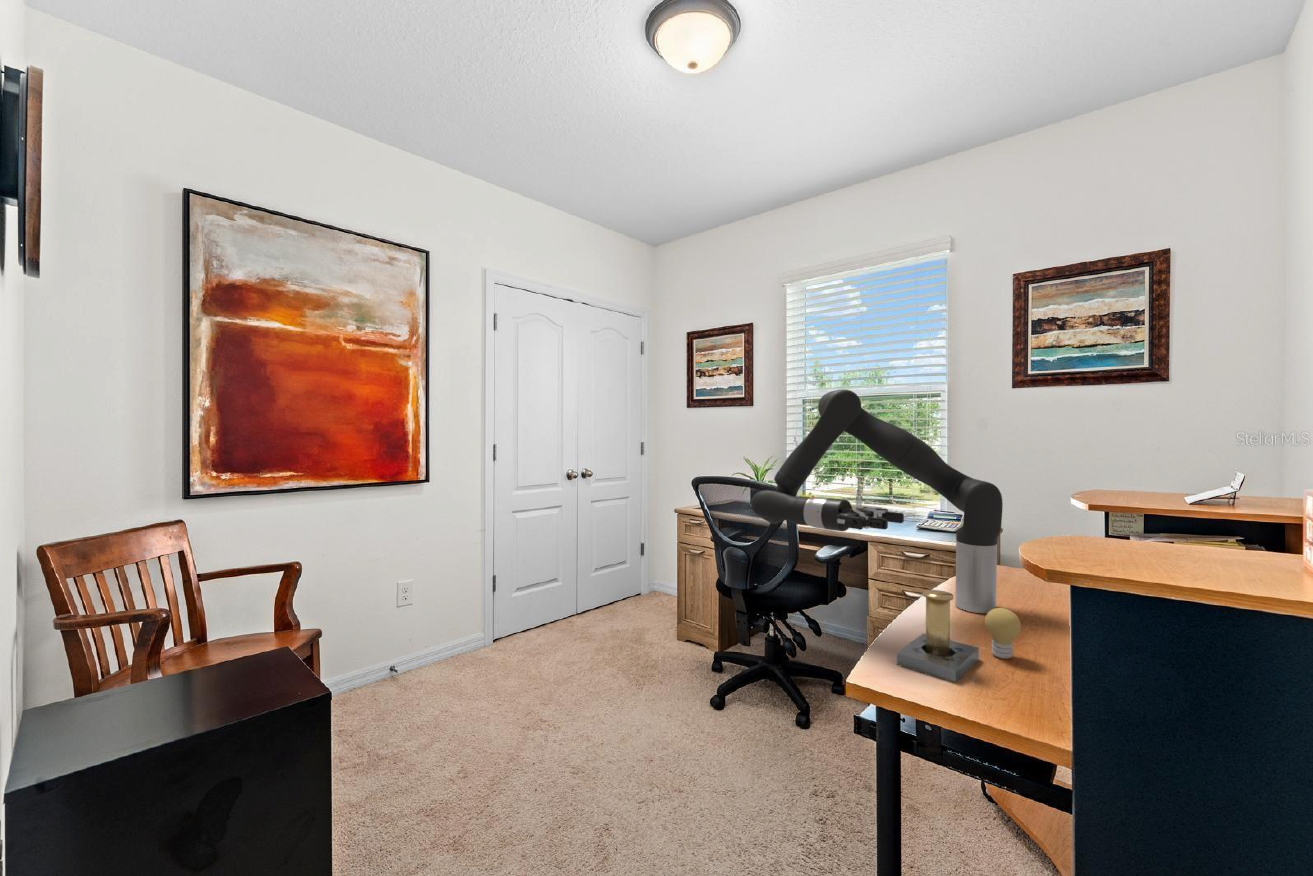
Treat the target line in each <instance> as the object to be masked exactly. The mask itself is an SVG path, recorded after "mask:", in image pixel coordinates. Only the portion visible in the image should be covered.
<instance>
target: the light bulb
mask: <svg viewBox="0 0 1313 876" xmlns="http://www.w3.org/2000/svg"><path fill="white" fill-rule="evenodd" d="M984 625H985V628H986V631H987V632H988V633H989V635H990V636H991V637H992V639H991V653H992V655H994V657H997V658H999V659H1003V660H1008V659H1011V658H1013V656H1014V653H1013V651H1014V649H1013V647H1014V643H1013V641H1014V640H1015V639H1016V638H1017V637H1018V636H1019V634H1020V632H1021V629H1022V623H1021V621H1020V618H1019V617H1018V615H1017V614H1016V613H1014V612H1013V611H1012V610H1009V609H1008V608H1004V607H996V608H995V609H992V610H990V611H989V612H988V613H986V615H985V618H984Z"/></svg>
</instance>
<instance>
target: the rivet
mask: <svg viewBox="0 0 1313 876" xmlns="http://www.w3.org/2000/svg"><path fill="white" fill-rule="evenodd" d="M922 596H923V597H925V634H926V653H929V654H932V655H936V656H939V657H944V656H950V640H951V628H950V627H951V601H953V600H954V598H955V597H954V594H952V593H951V592H948V591H945V590H940V589H939V590H938V589H925V590H923V591H922Z"/></svg>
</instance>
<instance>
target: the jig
mask: <svg viewBox="0 0 1313 876" xmlns="http://www.w3.org/2000/svg"><path fill="white" fill-rule="evenodd" d="M979 650H980V648H979V647H978V646H974V645H970V644H966V643H964V642H963V643H962V642H958V641H955V640H951V639H950V656H944V657H939V656H936V655H932V654H929V653H926V633H924V632H923V633H922V634H920V635H919V636H917V637H916V638H914V639H913V640H912V641H910V642H909V643H908V644H907V645H905V646H903V648H901V649H900V650H899V651H897V652H896V665H897V666H899V665H901V666H900V667H902V666H904V667H903V668H905V667H906V669H909V668H911V669H910V670H912V669H915V670H917V671H916V672H918V671H920V672H919V673H921V674H925V673H927V674H926V675H928V674H929V675H928V676H931V675H932V676H931V677H934V678H938V679H941V678H942V680H945V681H948V682H951V683H954V682H955V683H954V684H956V683H957V682H958V681H959V680H960V679H961V678H963V676H964V675H965V674H966V673H967V672H968V671H969V670H970V669H971V668H972V667H973V666H975V664H977V662H978V661H979V660H978V659H980V655H979V654H980V651H979ZM915 670H914V671H915Z"/></svg>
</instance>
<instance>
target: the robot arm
mask: <svg viewBox="0 0 1313 876" xmlns="http://www.w3.org/2000/svg"><path fill="white" fill-rule="evenodd" d="M817 408H818V413H819V418H818V420H817V422H816V423H815V425H814V426H813V428H812V429H811V431H810V432H809V433H808V434H807V435H806V437H805V438H804V439H803V440H802V441H801V442H800V443H799V444H798V445H797V446H796V447H795V448H794V450H792V451H791V452H790V454H789V455H788V457H787V458H786V459H785V460H784V462H783V464H781V467H780V468H779V470H778V471H777V472H776V474H775V476H774V482H775V484H776V486H777V487H776V489H775V490H769V489H767V490H760V491H758V492H756V493H755V494H754V495H753V497H752V498H751V500H750V507H751V510H752V512H753V513H754V514H755V515H756V516H758V517H759V518H761V519H762V520H765V521H766V522H767V523H769V524H773V525H777V524H779V523H781V522H783V521H784V520H785V521H786V522H788V523H791V524H795V525H800V526H807V527H811V528H816V529H822V530H830V531H837V532H847V530H849V529H853V530H854V529H855V530H859V531H860V530H863V529H878V530H887V529H888V528H889V525H888V524H889V523H894V524H895V523H896V524H902V523H903V524H904V521H905V518H904V517H905V515H904V513H903V512H895V511H889V509H888V508H878V507H867V506H863V507H860V506H859V507H857V506H856V507H855V508H853V507H852V504H851V502H850V501H849V500H847V499H844V498H843V499H842V498H833V497H822V496H820V497H819V496H818V497H817V496H816V497H809V496H799V495H798V492H799V490H800V489H801V487H802V486H803V485H804V484H805V482H806V481H807V479H808V477H809V476H811V474H812V472H813V470H814V469H815V467H816V466H817V464H818V463H819V462H820V461H821V459H822V458H823V456H824V455H825V454H826V452H827V451H828V450H829V448H830V447H831V446H832V445H833V444H834V442H835V441H836V440H837V439H838V438H839V437H840V436H841V435H842V434H843V433H844V432H845V433H846V434H849V435H850V436H853V437H854V438H855V439H856V440H858V441H860V442H861V443H863V444H864V445H865V446H866V447H868V448H869V449H870V450H871V451H873V452H874V453H875V454H876V455H878V456H880V457H881V458H882V459H883V460H885V461H886V462H888V464H891V465H892V466H894V467H895V468H897V469H899V470H900V471H901V472H903V473H905V474H907V475H908V476H910V477H912V478H913V479H915V480H917V481H918V482H920V483H923V484H925V485H927V486H928V487H930V488H931V489H933V490H934V491H936V492H937V493H938V494H940V495H941V496H942V497H943V498H944V499H946V500H947V501H948V502H950V503H951V505H952V506H954V507H956V509H957V510H959V511H960V512H962V513H963V524H962V526H961V527H960V528H958V529H957V530H956V532H955V597H954V598H955V603H954V604H955V605H954V606H956V607H957V608H958V609H960V610H962V609H963V610H962V611H965V610H966V612H969V613H975V614H976V613H977V614H987V613H988V612H989V611H990V610H992V609H995V608H997V582H998V581H997V579H998V573H997V572H998V571H997V570H998V538H999V536H1000V534H1001V531H1002V520H1003V519H1002V518H1003V504H1004V503H1003V496H1002V493H1001V490H1000V489H999V488H998V486H996V485H995V484H993V483H991V482H988V481H985V480H980V479H976V478H973V477H970V476H968V475H967V474H964V473H962V472H961V471H958V470H957V469H956V468H954V467H952V466H950V465H949V464H948V463H947V462H945V461H944V460H943V459H942V457H940V455H939V454H938V452H936V451H935V450H934V449H933V448H932V447H931V446H930V445H929V444H927V443H926V442H924V441H923V440H921V439H920V438H919V437H918V436H915V435H913V434H912V432H911V433H910V432H909V431H907V430H905V429H903V428H901V427H899V426H897V425H895V424H892V423H890V422H888V421H885V420H882V419H880V418H878V417H876V416H875V415H873V414H871V413H870V412H868V411H867V410H865V409H864V408H862V401H861V399H860V396H858V395H857V393H855V391H852V390H849V389H844V388H843V389H841V388H840V389H836V390H831V391H829V392H827V393H825V394H824V395H822V396H821V398H820V399H819V401H818V405H817ZM879 514H881V516H879Z"/></svg>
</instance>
